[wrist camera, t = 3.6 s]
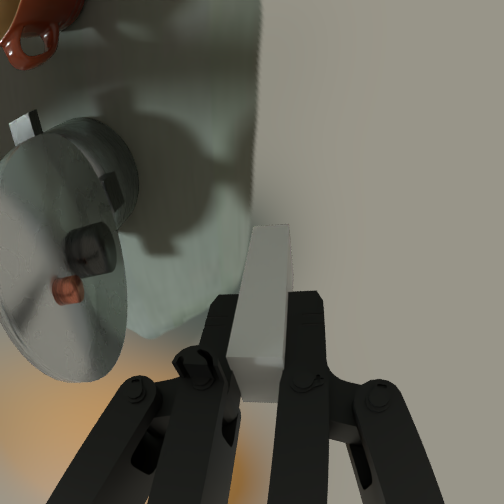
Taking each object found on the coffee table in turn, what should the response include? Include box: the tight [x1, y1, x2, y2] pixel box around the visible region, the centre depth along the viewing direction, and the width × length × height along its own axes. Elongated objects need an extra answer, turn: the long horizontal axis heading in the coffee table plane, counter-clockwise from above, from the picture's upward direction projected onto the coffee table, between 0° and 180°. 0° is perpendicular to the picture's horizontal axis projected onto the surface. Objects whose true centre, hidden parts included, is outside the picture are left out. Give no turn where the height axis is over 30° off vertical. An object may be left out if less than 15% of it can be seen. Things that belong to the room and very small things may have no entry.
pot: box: [9, 110, 139, 230], centre depth 27 cm, size 15×19×8 cm
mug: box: [0, 0, 85, 71], centre depth 15 cm, size 12×9×10 cm
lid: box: [0, 133, 127, 383], centre depth 17 cm, size 15×15×3 cm
